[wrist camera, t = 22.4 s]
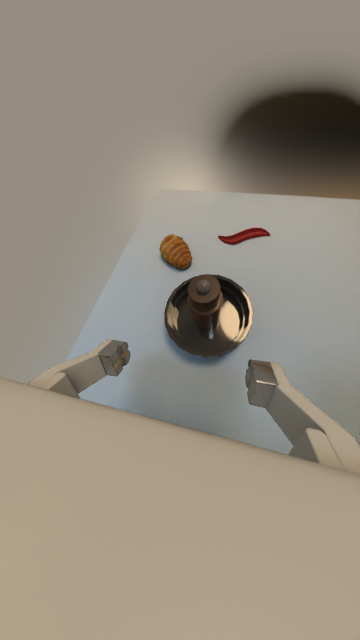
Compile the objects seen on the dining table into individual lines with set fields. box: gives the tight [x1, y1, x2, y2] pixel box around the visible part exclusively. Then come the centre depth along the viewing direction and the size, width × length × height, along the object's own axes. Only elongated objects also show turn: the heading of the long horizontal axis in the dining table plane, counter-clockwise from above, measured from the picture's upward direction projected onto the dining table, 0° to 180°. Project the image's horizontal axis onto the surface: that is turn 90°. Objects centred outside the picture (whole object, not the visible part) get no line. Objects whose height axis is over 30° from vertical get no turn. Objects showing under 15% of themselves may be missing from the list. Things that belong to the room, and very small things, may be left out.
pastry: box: [160, 234, 192, 269], centre depth 36 cm, size 9×7×4 cm
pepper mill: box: [188, 275, 223, 331], centre depth 24 cm, size 5×5×14 cm
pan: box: [165, 274, 253, 358], centre depth 29 cm, size 16×16×4 cm
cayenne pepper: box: [218, 228, 270, 244], centre depth 35 cm, size 12×5×2 cm, turn 74°
